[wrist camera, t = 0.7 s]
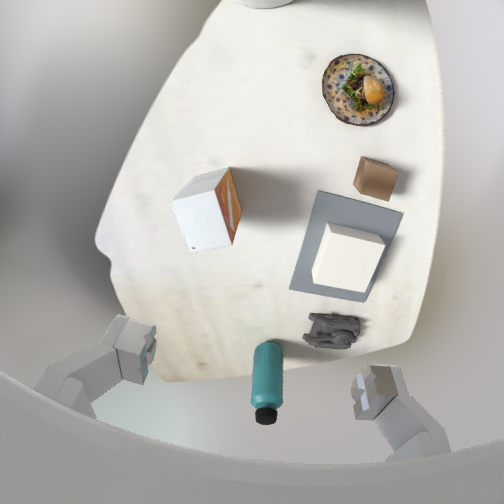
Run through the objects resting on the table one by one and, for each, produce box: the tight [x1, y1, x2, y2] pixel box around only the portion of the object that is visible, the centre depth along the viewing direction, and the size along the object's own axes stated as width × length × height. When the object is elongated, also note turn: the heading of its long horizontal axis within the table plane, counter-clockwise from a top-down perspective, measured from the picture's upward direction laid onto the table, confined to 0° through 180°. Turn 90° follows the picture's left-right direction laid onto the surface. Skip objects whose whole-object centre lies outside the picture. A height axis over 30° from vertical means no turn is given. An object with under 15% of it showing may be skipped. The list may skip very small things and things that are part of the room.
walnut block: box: [353, 156, 398, 202], centre depth 44 cm, size 5×5×5 cm
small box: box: [171, 167, 242, 254], centre depth 44 cm, size 8×6×13 cm
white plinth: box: [312, 222, 385, 293], centre depth 51 cm, size 10×10×4 cm
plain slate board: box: [289, 190, 402, 303], centre depth 53 cm, size 20×16×1 cm
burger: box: [322, 54, 395, 126], centre depth 36 cm, size 12×12×8 cm
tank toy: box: [303, 313, 360, 349], centre depth 61 cm, size 12×10×5 cm
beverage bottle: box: [251, 342, 283, 425], centre depth 58 cm, size 6×7×20 cm
